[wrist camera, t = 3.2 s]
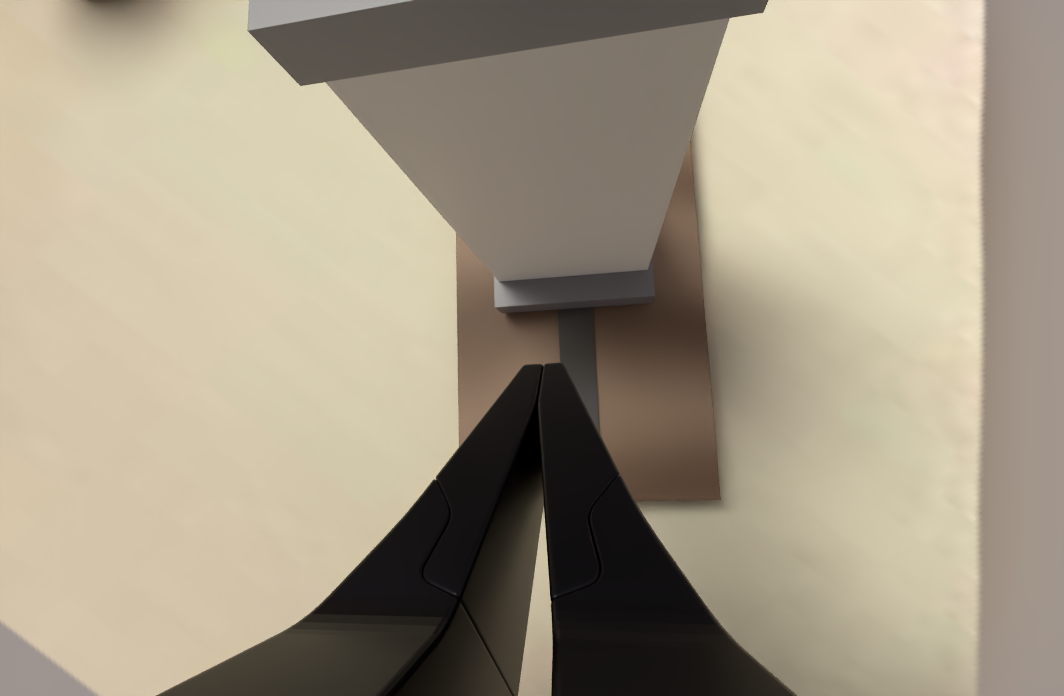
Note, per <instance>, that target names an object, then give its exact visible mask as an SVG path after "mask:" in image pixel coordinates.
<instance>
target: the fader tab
mask: <svg viewBox="0 0 1064 696" xmlns="http://www.w3.org/2000/svg"><path fill="white" fill-rule="evenodd" d="M767 2H768V0H249V11H248V32H249V33H250V34H251V35H252V36H253V37H254V38H255V39H256V40H257V41H258V42H259V43H260V44H261V45H262V46H263V47H264V48H265V49H266V50H267V51H268V53H269V54H270V55H271V56H272V57H273V58H274V59H275V60H276V61H277V62H278V63H279V64H280V65H281V66H282V67H283V68H284V69H285V70H286V71H287V72H288V73H289V74H290V75H291V77H292V78H293V79H294V80H295V81H296V82H297V83H298V84H299V85H300V86H303V85H309V84H316V83H322V82H326V83H327V84H328V86H329V87H330V88H331V89H332V90H333V91H334V92H335V94H336V95H337V96H338V97H339V98H340V99H341V100H342V102H343V103H344V104H345V105H346V106H347V107H348V109H349V110H350V111H351V112H352V113H353V114H354V115H355V117H356V118H357V119H358V120H359V121H360V122H361V123H362V125H363V126H364V127H365V128H366V129H367V130H368V132H369V133H370V134H371V135H372V136H373V137H374V138H375V140H376V141H377V142H378V143H379V144H380V145H381V146H382V148H383V149H384V150H385V151H386V152H387V153H388V155H389V156H390V157H391V158H392V159H393V160H394V161H395V163H396V164H397V165H398V166H399V167H400V168H401V169H402V171H403V172H404V173H405V174H406V175H407V176H408V177H409V179H410V180H411V181H412V182H413V183H414V184H415V186H416V187H417V188H418V189H419V190H420V191H421V192H422V194H423V195H424V196H425V197H426V198H427V199H428V200H429V202H430V203H431V204H432V205H433V206H434V207H435V209H436V210H437V211H438V212H439V213H440V214H441V215H442V217H443V218H444V219H445V220H446V221H447V222H448V223H449V225H450V226H451V227H452V228H453V229H454V230H455V232H456V233H457V234H458V235H459V236H460V237H461V238H462V240H463V241H464V242H465V243H466V244H467V245H468V246H469V248H470V249H471V250H472V251H473V252H474V253H475V254H476V256H477V257H478V258H479V259H480V260H481V261H482V263H483V264H484V265H485V266H486V267H487V268H488V269H489V271H490V272H491V273H492V274H493V275H494V300H495V308H496V309H497V310H498V311H500V312H501V313H515V312H529V311H544V310H559V309H574V308H588V307H603V306H618V305H632V304H647V303H652V302H653V299H654V297H655V287H654V273H653V259H652V255H653V252H654V249H655V246H656V243H657V240H658V237H659V233H660V230H661V227H662V224H663V221H664V218H665V215H666V212H667V209H668V206H669V203H670V200H671V197H672V194H673V190H674V187H675V184H676V181H677V178H678V175H679V172H680V169H681V166H682V163H683V160H684V157H685V154H686V151H687V147H688V144H689V141H690V138H691V135H692V132H693V129H694V126H695V123H696V120H697V117H698V114H699V111H700V108H701V104H702V101H703V98H704V95H705V92H706V89H707V86H708V83H709V80H710V77H711V74H712V71H713V68H714V65H715V61H716V58H717V55H718V52H719V49H720V46H721V43H722V40H723V37H724V34H725V31H726V28H727V25H728V22H729V18H732V17H738V16H745V15H751V14H757V13H763V12H764V10H765V7H766V5H767Z"/></svg>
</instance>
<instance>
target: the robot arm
mask: <svg viewBox="0 0 1064 696" xmlns="http://www.w3.org/2000/svg"><path fill="white" fill-rule="evenodd" d="M543 504H544V511H545V525H546V540H547V554H548V569H549V583H550V597H551V602H552V603H551V612H552V634H553V660H552V696H797V695H796V694H795V693H794V692H792V691H791V690H790V689H789V688H788V687H787V686H786V685H784V684H783V683H782V682H781V681H780V680H779V679H778V678H776V677H775V676H774V675H773V674H772V673H771V672H770V671H768V670H767V669H766V668H765V667H764V666H763V665H761V664H760V663H759V662H758V661H757V660H756V659H755V658H753V657H752V656H751V655H750V654H749V653H748V652H747V651H745V650H744V649H743V648H742V647H741V646H740V645H739V644H738V643H737V642H736V641H735V640H734V639H733V638H732V637H731V636H730V635H729V633H728V632H727V631H726V630H725V629H724V628H723V627H722V625H721V624H720V623H719V622H718V620H717V619H716V618H715V617H714V615H713V614H712V613H711V611H710V610H709V609H708V607H707V606H706V605H705V603H704V602H703V600H702V599H701V598H700V596H699V595H698V593H697V592H696V591H695V589H694V588H693V586H692V585H691V583H690V582H689V581H688V579H687V578H686V576H685V575H684V574H683V572H682V571H681V569H680V568H679V567H678V565H677V564H676V562H675V561H674V559H673V558H672V557H671V555H670V554H669V552H668V551H667V550H666V548H665V547H664V545H663V544H662V543H661V541H660V540H659V538H658V537H657V535H656V534H655V532H654V531H653V529H652V528H651V526H650V524H649V523H648V521H647V520H646V518H645V517H644V515H643V514H642V512H641V510H640V508H639V507H638V505H637V503H636V501H635V500H634V498H633V496H632V494H631V493H630V491H629V489H628V487H627V485H626V483H625V481H624V479H623V477H622V476H620V472H619V470H618V468H617V466H616V464H615V462H614V460H613V458H612V456H611V454H610V452H609V451H608V449H607V447H606V445H605V443H604V441H603V439H602V437H601V435H600V433H599V431H598V429H597V427H596V425H595V423H594V422H593V420H592V418H591V416H590V414H589V412H588V410H587V408H586V406H585V404H584V402H583V400H582V398H581V396H580V394H579V393H578V391H577V389H576V387H575V385H574V383H573V381H572V379H571V377H570V375H569V373H568V371H567V369H566V367H565V366H564V364H563V363H546V364H544V366H543V365H542V364H527V365H524V366H522V368H521V369H520V370H519V371H518V373H517V374H516V375H515V377H514V378H513V379H512V380H511V382H510V383H509V384H508V385H507V387H506V388H505V389H504V391H503V392H502V393H501V394H500V396H499V397H498V398H497V399H496V401H495V402H494V403H493V405H492V406H491V407H490V408H489V410H488V411H487V412H486V414H485V415H484V416H483V417H482V419H481V420H480V421H479V422H478V424H477V425H476V426H475V428H474V429H473V430H472V431H471V433H470V434H469V435H468V437H467V438H466V439H465V440H464V442H463V443H462V444H461V445H460V447H459V448H458V449H457V451H456V452H455V453H454V454H453V456H452V457H451V458H450V460H449V461H448V462H447V463H446V465H445V466H444V467H443V468H442V470H441V471H440V472H439V474H438V475H437V476H436V480H433V481H432V482H431V484H430V485H429V486H428V487H427V489H426V490H425V491H424V492H423V494H422V495H421V496H420V497H419V499H418V500H417V501H416V502H415V503H414V505H413V506H412V507H411V508H410V509H409V511H408V512H407V513H406V514H405V516H404V517H403V518H402V519H401V520H400V521H399V522H398V523H397V524H396V525H395V526H394V528H393V529H392V530H391V531H390V532H389V533H388V534H387V535H386V536H385V537H384V539H383V540H382V541H381V542H380V543H379V544H378V545H377V546H376V547H375V548H374V549H373V550H372V551H371V552H370V553H369V554H368V555H367V556H366V557H365V558H364V560H363V561H362V562H361V563H360V564H359V565H358V566H357V567H356V568H355V569H354V570H353V571H352V572H351V573H350V574H349V575H348V576H347V577H346V578H345V579H344V580H343V581H342V583H341V584H340V585H339V586H338V587H337V588H336V589H335V590H334V591H333V592H332V593H331V594H330V595H329V596H328V597H327V598H326V599H325V600H324V601H323V602H322V603H321V604H320V605H319V606H318V607H316V608H315V609H314V610H313V611H312V612H311V613H310V614H308V615H307V616H306V617H304V618H303V619H302V620H300V621H299V622H298V623H296V624H294V625H293V626H291V627H290V628H288V629H287V630H285V631H283V632H281V633H279V634H277V635H275V636H273V637H271V638H269V639H267V640H265V641H263V642H261V643H259V644H257V645H255V646H253V647H251V648H249V649H247V650H245V651H244V652H242V653H240V654H238V655H236V656H234V657H232V658H230V659H228V660H226V661H224V662H222V663H220V664H218V665H216V666H214V667H212V668H210V669H208V670H206V671H204V672H202V673H200V674H198V675H196V676H194V677H192V678H190V679H188V680H186V681H184V682H182V683H180V684H178V685H176V686H174V687H172V688H170V689H168V690H166V691H164V692H162V693H160V694H158V695H156V696H518V691H519V683H520V676H521V668H522V661H523V653H524V646H525V638H526V631H527V623H528V616H529V608H530V601H531V593H532V586H533V578H534V571H535V563H536V556H537V548H538V541H539V533H540V526H541V518H542V511H543Z"/></svg>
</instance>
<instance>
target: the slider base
mask: <svg viewBox="0 0 1064 696" xmlns="http://www.w3.org/2000/svg"><path fill="white" fill-rule="evenodd" d="M652 259H653V273H654V287H655V297H654V299H653V302H652V303H647V304H632V305H618V306H603V307H588V308H574V309H559V310H544V311H529V312H515V313H501V312H500V311H498V310H497V309H496V308H495V300H494V275H493V274H492V273H491V272H490V271H489V269H488V268H487V267H486V266H485V265H484V264H483V263H482V261H481V260H480V259H479V258H478V257H477V256H476V254H475V253H474V252H473V251H472V250H471V249H470V248H469V246H468V245H467V244H466V243H465V242H464V241H463V240H462V238H461V237H460V236H459V235H458V234H457V233H456V264H457V335H458V406H459V447H460V445H461V444H462V443H463V442H464V440H465V439H466V438H467V437H468V435H469V434H470V433H471V431H472V430H473V429H474V428H475V426H476V425H477V424H478V422H479V421H480V420H481V419H482V417H483V416H484V415H485V414H486V412H487V411H488V410H489V408H490V407H491V406H492V405H493V403H494V402H495V401H496V399H497V398H498V397H499V396H500V394H501V393H502V392H503V391H504V389H505V388H506V387H507V385H508V384H509V383H510V382H511V380H512V379H513V378H514V377H515V375H516V374H517V373H518V371H519V370H520V369H521V368H522V366H524V365H527V364H542V365H543V366H544V364H546V363H563V364H564V366H565V367H566V369H567V371H568V373H569V375H570V377H571V379H572V381H573V383H574V385H575V387H576V389H577V391H578V393H579V394H580V396H581V398H582V400H583V402H584V404H585V406H586V408H587V410H588V412H589V414H590V416H591V418H592V420H593V422H594V423H595V425H596V427H597V429H598V431H599V433H600V435H601V437H602V439H603V441H604V443H605V445H606V447H607V449H608V451H609V452H610V454H611V456H612V458H613V460H614V462H615V464H616V466H617V468H618V470H619V472H620V476H622V477H623V479H624V481H625V483H626V485H627V487H628V489H629V491H630V493H631V494H632V496H633V498H634V500H721V499H720V487H719V475H718V464H717V452H716V440H715V429H714V417H713V405H712V394H711V382H710V370H709V358H708V347H707V335H706V323H705V312H704V300H703V288H702V277H701V265H700V253H699V241H698V230H697V218H696V206H695V195H694V183H693V171H692V160H691V148H690V141H689V144H688V147H687V151H686V154H685V157H684V160H683V163H682V166H681V169H680V172H679V175H678V178H677V181H676V184H675V187H674V190H673V194H672V197H671V200H670V203H669V206H668V209H667V212H666V215H665V218H664V221H663V224H662V227H661V230H660V233H659V237H658V240H657V243H656V246H655V249H654V252H653V255H652Z"/></svg>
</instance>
